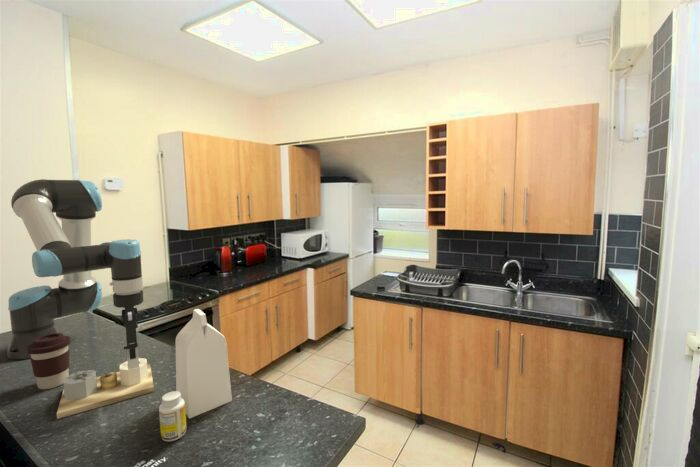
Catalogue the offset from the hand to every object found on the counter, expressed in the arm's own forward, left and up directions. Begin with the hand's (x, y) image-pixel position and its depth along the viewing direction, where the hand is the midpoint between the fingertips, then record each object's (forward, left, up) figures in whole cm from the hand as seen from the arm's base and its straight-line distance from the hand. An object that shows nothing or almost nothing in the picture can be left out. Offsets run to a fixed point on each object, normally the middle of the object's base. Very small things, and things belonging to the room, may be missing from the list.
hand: (132, 358), depth 103 cm
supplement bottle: (+32, +7, -8) cm, 34 cm away
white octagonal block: (0, 0, -7) cm, 7 cm away
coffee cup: (-14, -21, -8) cm, 27 cm away
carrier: (0, -6, -8) cm, 10 cm away
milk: (+21, +16, -8) cm, 28 cm away
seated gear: (0, -13, -7) cm, 14 cm away
